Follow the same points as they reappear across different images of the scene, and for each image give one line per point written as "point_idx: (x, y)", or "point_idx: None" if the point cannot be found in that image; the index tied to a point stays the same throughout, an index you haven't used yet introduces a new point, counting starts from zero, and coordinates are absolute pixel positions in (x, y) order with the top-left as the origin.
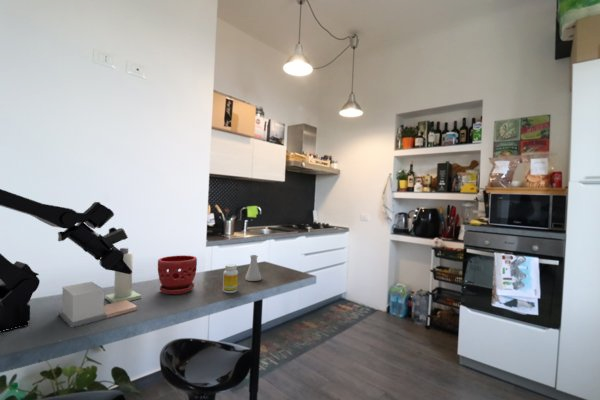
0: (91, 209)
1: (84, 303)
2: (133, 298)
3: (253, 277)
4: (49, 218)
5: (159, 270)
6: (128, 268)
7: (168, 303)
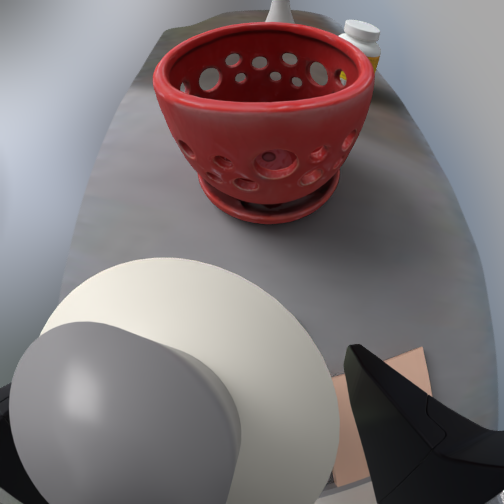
0: None
1: None
2: None
3: None
4: None
5: (255, 162)
6: (392, 376)
7: (398, 238)
